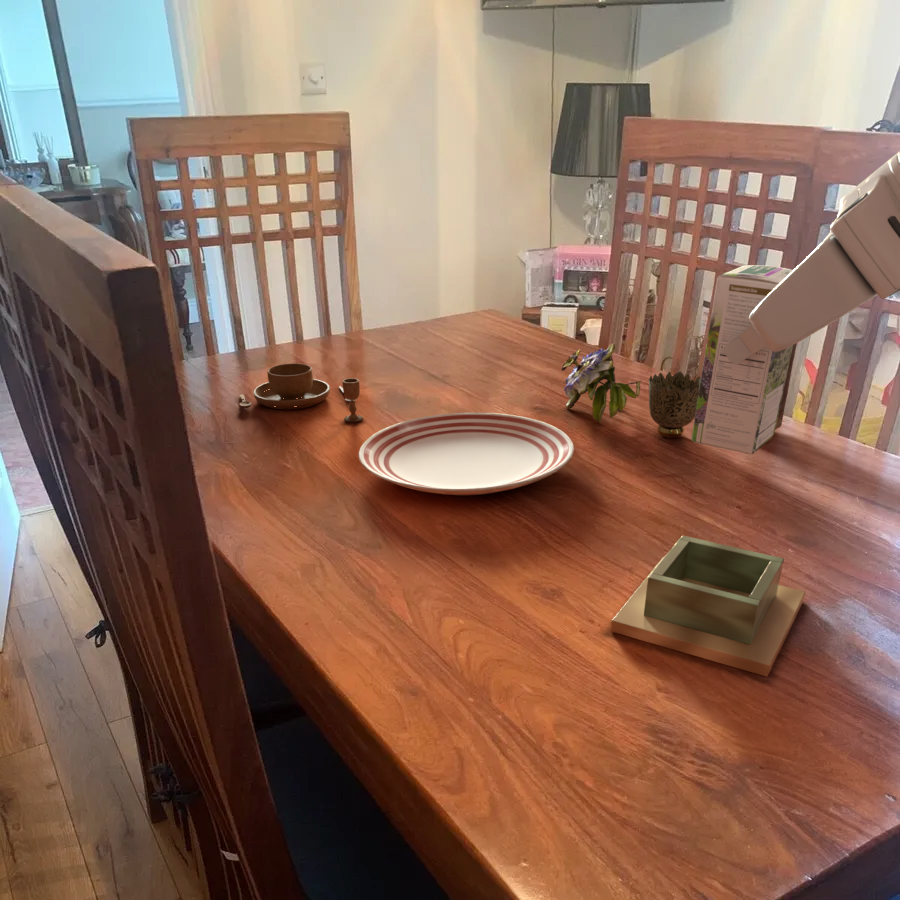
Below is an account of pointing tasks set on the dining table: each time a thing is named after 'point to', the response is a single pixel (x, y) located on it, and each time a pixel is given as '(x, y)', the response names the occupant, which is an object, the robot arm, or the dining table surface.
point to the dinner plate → (466, 453)
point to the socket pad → (714, 605)
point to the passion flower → (591, 375)
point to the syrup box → (740, 367)
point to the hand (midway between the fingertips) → (742, 346)
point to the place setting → (300, 390)
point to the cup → (673, 402)
